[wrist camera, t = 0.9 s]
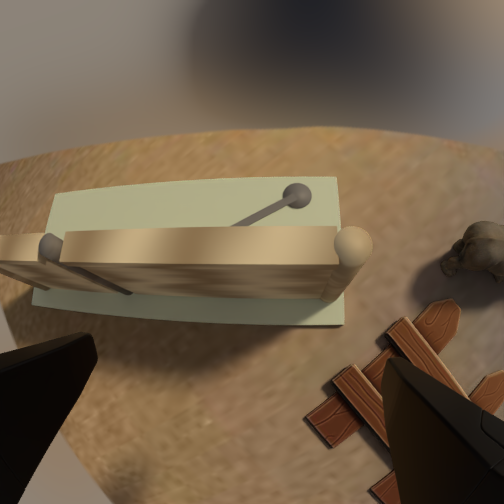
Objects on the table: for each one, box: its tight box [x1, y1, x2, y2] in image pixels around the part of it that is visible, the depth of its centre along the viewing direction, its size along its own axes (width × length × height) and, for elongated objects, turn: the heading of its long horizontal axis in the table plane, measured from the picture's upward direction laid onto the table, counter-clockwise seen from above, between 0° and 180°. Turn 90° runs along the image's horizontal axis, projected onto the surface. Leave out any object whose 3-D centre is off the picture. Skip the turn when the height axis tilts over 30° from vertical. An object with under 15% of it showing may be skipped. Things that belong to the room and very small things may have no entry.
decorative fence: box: [306, 298, 504, 504], centre depth 18 cm, size 23×2×15 cm
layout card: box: [31, 177, 344, 325], centre depth 27 cm, size 30×12×1 cm, turn 88°
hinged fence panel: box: [59, 226, 373, 303], centre depth 19 cm, size 16×2×10 cm, turn 88°
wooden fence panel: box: [0, 233, 133, 295], centre depth 21 cm, size 12×2×11 cm, turn 88°
